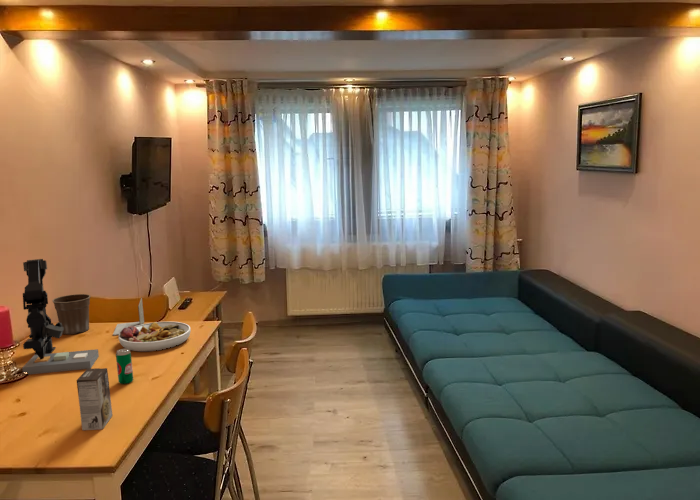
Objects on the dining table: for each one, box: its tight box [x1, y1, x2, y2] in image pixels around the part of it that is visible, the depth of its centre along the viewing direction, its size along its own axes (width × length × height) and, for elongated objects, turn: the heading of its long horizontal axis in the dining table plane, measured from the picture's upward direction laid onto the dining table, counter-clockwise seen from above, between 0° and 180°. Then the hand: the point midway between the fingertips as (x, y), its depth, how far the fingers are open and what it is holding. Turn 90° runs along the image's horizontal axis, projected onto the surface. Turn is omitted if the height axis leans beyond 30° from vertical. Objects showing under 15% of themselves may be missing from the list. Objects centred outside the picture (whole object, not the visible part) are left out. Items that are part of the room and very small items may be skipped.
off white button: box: [73, 353, 88, 359], centre depth 226 cm, size 4×4×3 cm
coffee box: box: [76, 367, 113, 431], centre depth 173 cm, size 9×6×16 cm
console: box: [22, 349, 100, 375], centre depth 224 cm, size 14×24×3 cm, turn 102°
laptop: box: [112, 297, 145, 336], centre depth 269 cm, size 18×12×13 cm
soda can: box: [115, 348, 134, 385], centre depth 205 cm, size 5×5×12 cm
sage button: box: [54, 351, 70, 361], centre depth 224 cm, size 4×4×3 cm
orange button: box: [34, 356, 50, 362], centre depth 223 cm, size 4×4×3 cm
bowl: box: [118, 321, 191, 352], centre depth 250 cm, size 30×30×8 cm
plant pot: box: [52, 293, 91, 335], centre depth 268 cm, size 16×16×16 cm
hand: (42, 358), depth 223 cm, fingers closed, pressing on orange button
